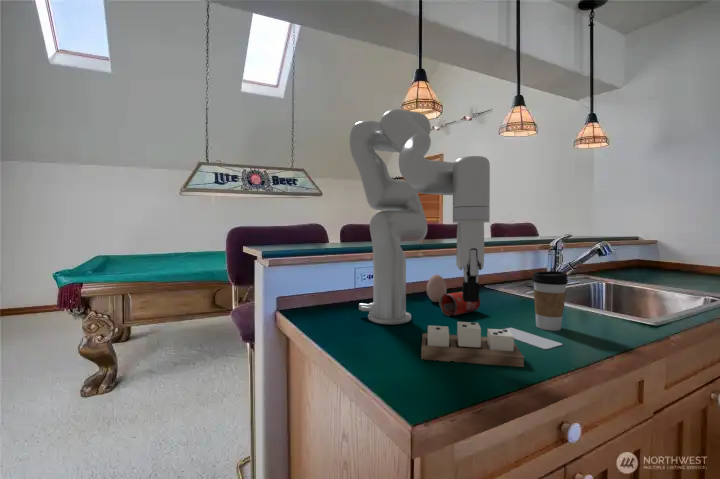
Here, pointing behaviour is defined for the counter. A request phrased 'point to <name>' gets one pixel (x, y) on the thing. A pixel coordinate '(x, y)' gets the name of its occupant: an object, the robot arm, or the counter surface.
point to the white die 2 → (468, 334)
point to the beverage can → (456, 304)
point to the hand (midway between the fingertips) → (470, 300)
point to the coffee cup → (549, 298)
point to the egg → (436, 288)
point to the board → (471, 353)
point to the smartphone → (533, 339)
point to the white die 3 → (500, 340)
